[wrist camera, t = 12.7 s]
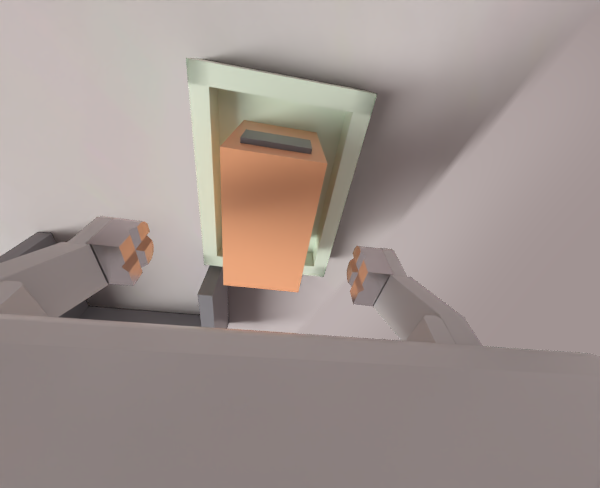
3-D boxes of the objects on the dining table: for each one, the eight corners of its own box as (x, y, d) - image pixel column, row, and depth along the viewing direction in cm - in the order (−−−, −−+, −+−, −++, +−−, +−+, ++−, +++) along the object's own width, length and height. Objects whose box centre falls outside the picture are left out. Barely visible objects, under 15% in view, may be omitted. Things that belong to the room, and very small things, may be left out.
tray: (201, 59, 14) (185, 57, 12) (366, 90, 15) (377, 94, 13) (212, 246, 21) (204, 264, 19) (321, 258, 22) (323, 276, 20)
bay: (37, 232, 20) (-42, 283, 15) (227, 252, 22) (209, 304, 17) (81, 312, 26) (34, 367, 21) (228, 323, 27) (215, 377, 23)
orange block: (243, 115, 15) (219, 140, 10) (317, 128, 15) (328, 157, 10) (240, 230, 20) (223, 285, 15) (296, 237, 20) (298, 292, 15)
